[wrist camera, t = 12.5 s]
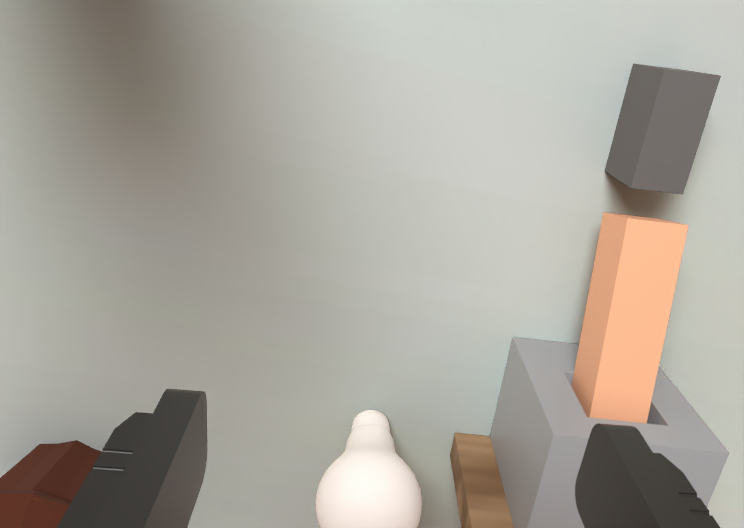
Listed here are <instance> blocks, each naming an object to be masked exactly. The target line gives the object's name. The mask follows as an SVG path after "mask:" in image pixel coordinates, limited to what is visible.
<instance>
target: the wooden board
mask: <svg viewBox="0 0 744 528" xmlns="http://www.w3.org/2000/svg"><path fill="white" fill-rule="evenodd" d="M450 457H451V463H452V470H453V476H454V482H455V489H456V495H457V501H458V507H459V514H460V520H461V526H462V528H514V526H513V522H512V518H511V514H510V511H509V507H508V503H507V499H506V495H505V492H504V488H503V484H502V480H501V476H500V473H499V469H498V465H497V461H496V457H495V454H494V450H493V446H492V442H491V438H490V436H482V435H472V434H462V433H455V434H454V439H453V444H452V449H451V454H450Z"/></svg>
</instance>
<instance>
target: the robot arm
mask: <svg viewBox="0 0 744 528" xmlns="http://www.w3.org/2000/svg"><path fill="white" fill-rule="evenodd" d="M206 461H207V401H206V394H205V392H203V391H190V390H177V389H167V390H166V391H165V392H164V394H163V395H162V397H161V399H160V401H159V403H158V405H157V407H156V409H155V411H154V413H153V414H151V413H138V412H136V413H134V414H133V415H132V416H131V417H129V418H128V419H127V420H125V421H124V422H123V423H122V424H120V425H119V426H118V427H117V428H115V429H114V431H113V433H112V435H111V436H110V438H109V440H108V441H107V443H106V445H105V446H104V448H103V452H102V453H100V455H99V457H98V458H97V460H96V462H95V463H94V465H93V469H92V470H90V472H89V473H88V475H87V477H86V478H85V480H84V482H83V484H82V485H81V487H80V489H79V490H78V492H77V494H76V495H75V497H74V499H73V500H72V502H71V504H70V506H69V507H68V509H67V511H66V512H65V514H64V516H63V517H62V519H61V521H60V522H59V524H58V526H57V528H187V526H188V523H189V520H190V517H191V514H192V511H193V508H194V506H195V503H196V500H197V497H198V494H199V491H200V488H201V485H202V482H203V478H204V474H205V468H206ZM575 500H576V506H577V510H578V512H579V515H580V517H581V520H582V522H583V525H584V527H585V528H720V527H719V525H718V524H717V522H716V521H715V519H714V518H713V516H710V515H709V510H708V509H707V507H706V506H705V504H704V503H703V501H702V500H701V498H698V497H697V492H696V491H695V489H694V488H693V486H692V485H691V483H690V482H689V480H688V479H687V477H686V476H685V474H684V473H683V472H682V471H681V470H680V469H679V468H677V467H676V466H675V465H674V464H673V463H672V462H670V461H669V460H668V459H667V458H666V457H665V456H663V455H662V454H661V453H653V452H652V450H651V449H650V447H649V446H648V444H647V443H646V441H645V439H644V438H643V436H642V435H641V433H640V432H639V430H638V429H637V428H636V427H634V426H626V425H613V424H600V423H598V424H596V425H594V427H593V428H592V430H591V433H590V436H589V439H588V443H587V446H586V449H585V452H584V456H583V459H582V462H581V465H580V469H579V472H578V475H577V479H576V484H575Z"/></svg>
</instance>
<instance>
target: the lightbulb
mask: <svg viewBox="0 0 744 528" xmlns="http://www.w3.org/2000/svg"><path fill="white" fill-rule="evenodd" d="M315 506H316V514H317V520H318V523H319V526H320V528H418V525H419V523H420V518H421V512H422V496H421V490H420V487H419V484H418V482H417V479H416V477H415V475H414V473H413V472H412V470H411V469H410V468H409V467H408V465H407V464H406V463H405V462H404V461H403V460H402V459H401V458H400V457H399V456H398V455H397V454H396V451H395V446H394V441H393V438H392V436H391V435H390V427H389V422H388V419H387V418H386V416H385V415H384V414H382V413H381V412H379V411H375V410H366V411H363V412H361V413H359V414H358V415H357V416H356V417H355V419H354V421H353V424H352V430H351V434H350V436H349V437H348V440H347V443H346V449H345V451H344V453H343V454H342V455H340V456H339V457H338V458H337V459H336V460H335V461H334V462H333V463H332V464H331V465H330V466H329V467H328V469H327V470H326V472H325V473H324V475H323V477H322V479H321V481H320V484H319V486H318V489H317V495H316V504H315Z"/></svg>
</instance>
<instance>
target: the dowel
mask: <svg viewBox="0 0 744 528" xmlns="http://www.w3.org/2000/svg"><path fill="white" fill-rule="evenodd" d="M687 230H688V225H685V224H680V223H676V222H671V221H667V220H662V219H657V218H648V217H639V216H631V215H622V214H613V213H603V218H602V223H601V229H600V234H599V240H598V245H597V250H596V256H595V261H594V267H593V272H592V278H591V283H590V288H589V294H588V299H587V305H586V310H585V315H584V321H583V326H582V332H581V337H580V342H579V348H578V353H577V359H576V364H575V370H574V375H573V380H572V386H571V387H572V389H573V391H574V393H575V395H576V396H577V398H578V400H579V402H580V404H581V406H582V408H583V410H584V412H585V414H586V416H587V417H589V418H599V419H608V420H618V421H627V422H637V423H646V424H647V419H648V414H649V409H650V405H651V400H652V395H653V391H654V386H655V381H656V376H657V372H658V367H659V362H660V357H661V353H662V348H663V343H664V339H665V334H666V329H667V324H668V320H669V315H670V310H671V305H672V301H673V296H674V291H675V286H676V282H677V277H678V272H679V268H680V263H681V258H682V253H683V249H684V244H685V239H686V234H687Z"/></svg>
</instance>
